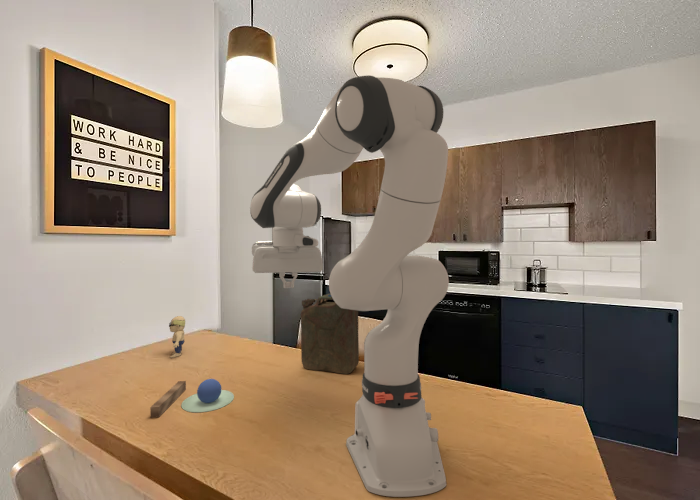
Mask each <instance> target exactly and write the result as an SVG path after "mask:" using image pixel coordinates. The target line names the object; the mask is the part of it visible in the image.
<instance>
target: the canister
mask: <svg viewBox="0 0 700 500" xmlns="http://www.w3.org/2000/svg"><path fill="white" fill-rule="evenodd" d="M328 300H330V301H328ZM314 303H315V304H314ZM301 306H302V310H301V312H300V328H301V329H300V347H301V348H300V349H301V351H300V352H301V354H300V355H301V364H302V366H303V368H305V369H306V370H311V371H320V372H321V371H324V372H330V373H335V374H343V375H347V374H348V375H349V374H351V373H352V372H353V371H354V370H355V369H356V368H357V366H358V365H359V362H360V361H359V360H360V356H359V355H360V353H359V352H360V351H359V350H360V349H359V346H360V345H359V311H357V310H350V309H343V308H340V307H339V306H338V305H337V304H336V303H335V301H334V300H333V298H332V296H331V294H330V293H327V294H323V295H321V296H318V298H315V299H314V298H307V299H304V300H301Z"/></svg>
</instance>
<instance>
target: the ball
mask: <svg viewBox="0 0 700 500" xmlns="http://www.w3.org/2000/svg"><path fill="white" fill-rule="evenodd" d="M221 390H222V385H221V383H220V382H219V380H217V379H215V378H208V379H205V380H203V381H202V382H201V383H200V384H199V385H198V388H197V390H196V391H197V392H196V394H197V396H198V398H199V400H200V401H202V402H204V403H212V402H214V401H215V400H217V399H218V398H219V396H220V394H221Z"/></svg>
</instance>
